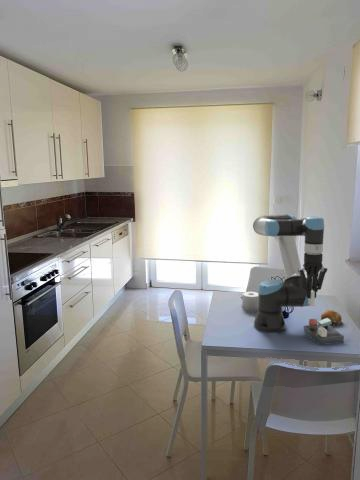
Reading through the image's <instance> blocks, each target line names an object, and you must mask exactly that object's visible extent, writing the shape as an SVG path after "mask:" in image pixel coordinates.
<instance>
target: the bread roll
mask: <svg viewBox="0 0 360 480" xmlns="http://www.w3.org/2000/svg"><path fill="white" fill-rule="evenodd" d="M326 318H328V319H329V320H331V322H332V324H330V326H338V325H340V324H341V323H342V316H341V314H340V313H339V311H336V310H333V309H326V310H325V311H323V312H322V313H321V316H320V320H323V319H326Z"/></svg>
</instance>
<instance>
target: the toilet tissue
mask: <svg viewBox="0 0 360 480" xmlns="http://www.w3.org/2000/svg"><path fill="white" fill-rule="evenodd" d="M240 298H241V301H242V303H241V304H242V310H243V311H245V312H251V313H252V312H258V292H256V291H246V292H243V293H242V296H240Z"/></svg>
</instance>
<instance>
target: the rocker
mask: <svg viewBox="0 0 360 480" xmlns="http://www.w3.org/2000/svg"><path fill="white" fill-rule="evenodd" d="M330 324H332V322H331V320H329V319H328V318H326V319H323V320H321V319H320V320H317V325H320V326H321V327H324V326H327V325H330ZM330 326H331V325H330Z"/></svg>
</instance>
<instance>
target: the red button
mask: <svg viewBox="0 0 360 480" xmlns="http://www.w3.org/2000/svg"><path fill="white" fill-rule="evenodd" d="M308 325H310V326H317V325H318V319H316V318H309V319H308Z"/></svg>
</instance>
